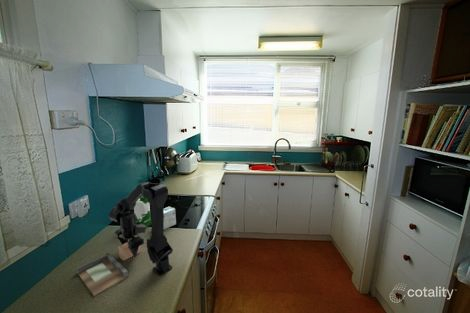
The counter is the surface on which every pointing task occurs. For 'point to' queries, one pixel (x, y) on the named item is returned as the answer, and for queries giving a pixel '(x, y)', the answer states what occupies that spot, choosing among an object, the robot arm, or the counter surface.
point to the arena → (101, 273)
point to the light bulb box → (169, 217)
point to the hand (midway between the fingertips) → (130, 252)
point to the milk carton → (142, 212)
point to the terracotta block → (126, 251)
